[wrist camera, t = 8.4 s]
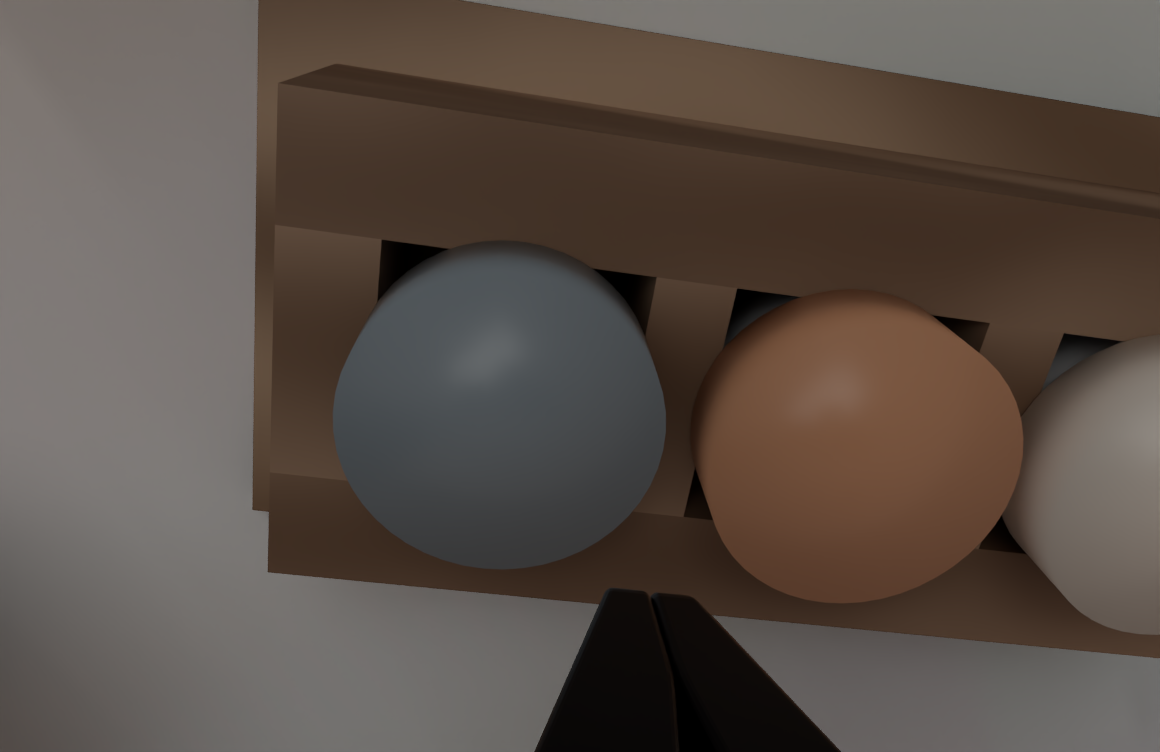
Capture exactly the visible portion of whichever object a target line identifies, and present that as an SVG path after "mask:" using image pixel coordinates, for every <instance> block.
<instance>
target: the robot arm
mask: <svg viewBox="0 0 1160 752" xmlns="http://www.w3.org/2000/svg"><path fill="white" fill-rule="evenodd" d="M534 752H841V751H840V750H839V749H838V748H837V747H836V746H835V745H834V744H833V743H832V742H831V741H830V739H829V738H828V737H827V736H826V735H825V734H824V733H823V732H822V731H821V730H820V729H819V728H818V727H817V726H816V725H815V724H814V723H813V722H812V721H811V719H810V718H809V717H808V716H807V715H806V714H805V713H804V712H803V711H802V710H801V709H800V708H799V707H798V706H797V705H796V704H795V703H794V702H793V700H792V699H791V698H790V697H789V696H788V695H787V694H786V693H785V692H784V691H783V690H782V689H781V688H780V687H779V686H778V685H777V684H776V683H775V681H774V680H773V679H772V678H771V677H770V676H769V675H768V674H767V673H766V672H765V671H764V670H763V669H762V668H761V667H760V666H759V665H758V664H757V662H756V661H755V660H754V659H753V658H752V657H751V656H750V655H749V654H748V653H747V652H746V651H745V650H744V649H743V648H742V647H741V646H740V645H739V644H738V642H737V641H736V640H735V639H734V638H733V637H732V636H731V635H730V634H729V633H728V632H727V631H726V630H725V629H724V628H723V627H722V626H721V625H720V623H719V622H718V621H717V620H716V619H715V618H714V617H713V616H712V615H711V614H710V613H709V612H708V611H707V610H706V609H705V608H704V607H703V606H702V604H701V603H700V602H699V601H698V600H696V599H695V598H694V597H692V596H688V595H679V594H669V593H660V592H657V593H654V594H652V595H651V596H650V595H649V594H648V593H647V592H645V591H640V590H631V589H622V588H609V589H607V590H606V591H605V593H604V595H603V597H602V600H601V602H600V604H599V606H598V609H597V611H596V613H595V615H594V618H593V620H592V622H591V625H590V627H589V629H588V631H587V634H586V636H585V638H584V640H583V643H582V645H581V647H580V649H579V652H578V654H577V656H576V659H575V661H574V663H573V665H572V668H571V670H570V672H569V674H568V677H567V679H566V681H565V683H564V686H563V688H562V690H561V693H560V695H559V697H558V699H557V702H556V704H555V706H554V708H553V711H552V713H551V715H550V717H549V720H548V722H547V724H546V727H545V729H544V731H543V733H542V736H541V738H540V740H539V742H538V745H537V747H536V749H535V751H534Z"/></svg>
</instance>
